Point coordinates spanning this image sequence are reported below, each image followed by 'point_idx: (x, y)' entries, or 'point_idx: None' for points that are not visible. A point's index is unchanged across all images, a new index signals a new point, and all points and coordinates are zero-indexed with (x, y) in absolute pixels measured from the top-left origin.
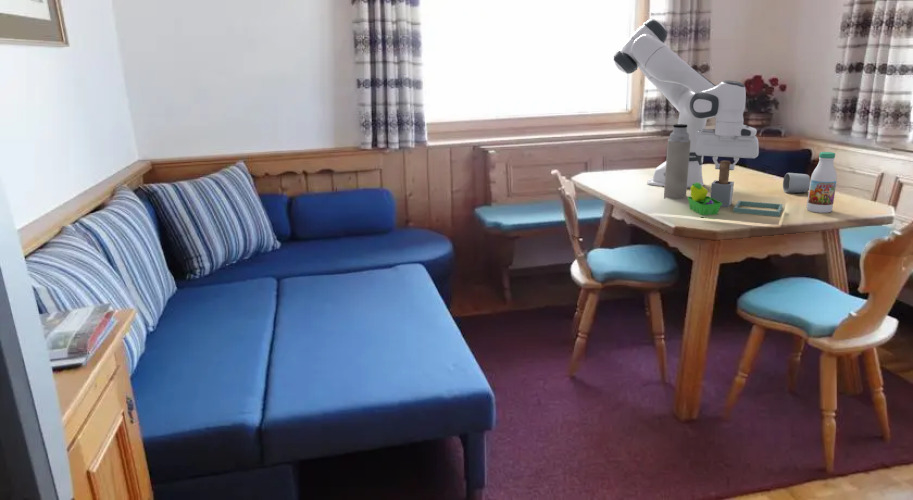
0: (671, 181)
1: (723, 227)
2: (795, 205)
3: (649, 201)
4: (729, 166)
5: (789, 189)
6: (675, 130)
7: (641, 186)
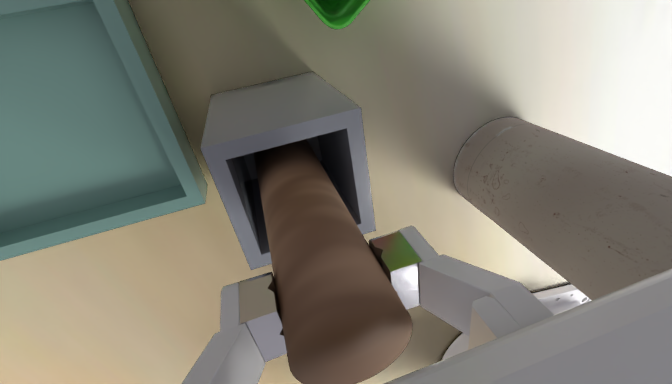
0: (590, 149)
1: None
2: (34, 367)
3: (585, 48)
4: (273, 298)
5: None
6: None
7: None
